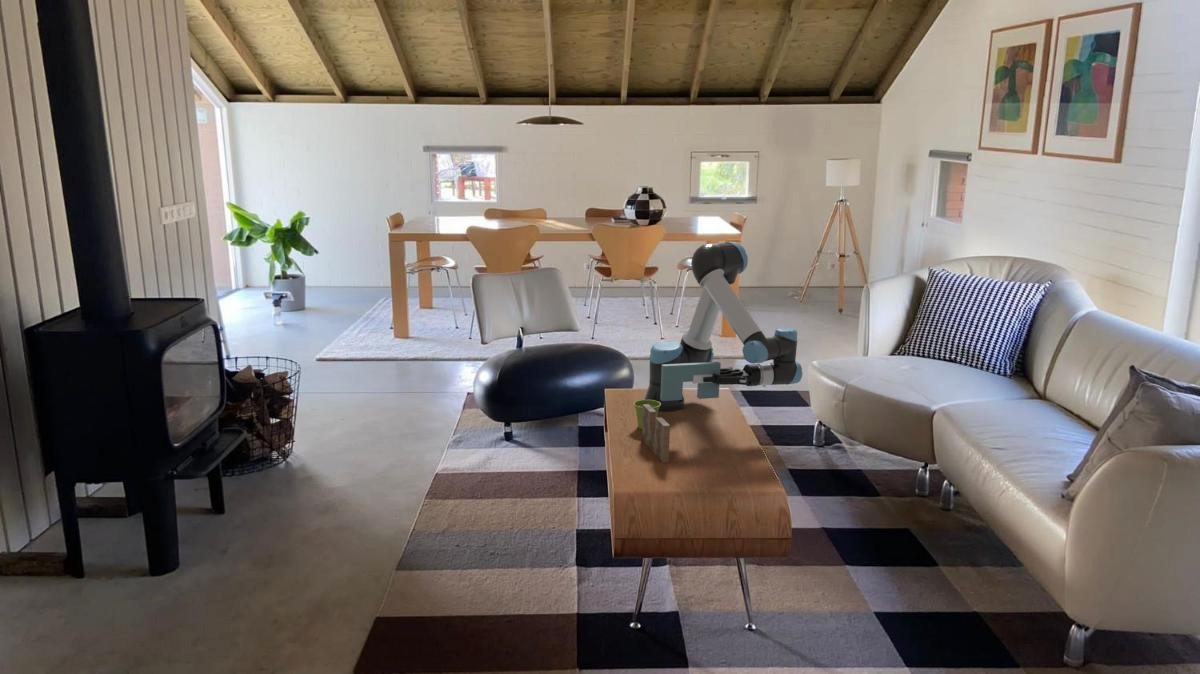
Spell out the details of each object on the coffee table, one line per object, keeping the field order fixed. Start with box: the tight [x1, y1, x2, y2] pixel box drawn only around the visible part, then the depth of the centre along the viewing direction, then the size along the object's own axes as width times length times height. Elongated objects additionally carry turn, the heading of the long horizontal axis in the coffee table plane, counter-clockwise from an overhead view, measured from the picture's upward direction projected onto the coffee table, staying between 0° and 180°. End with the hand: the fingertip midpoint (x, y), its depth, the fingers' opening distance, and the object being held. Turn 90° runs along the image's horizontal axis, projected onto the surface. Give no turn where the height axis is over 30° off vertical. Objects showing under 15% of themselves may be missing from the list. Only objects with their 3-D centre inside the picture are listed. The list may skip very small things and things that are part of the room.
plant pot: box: [633, 399, 661, 430], centre depth 291 cm, size 9×9×9 cm
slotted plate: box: [660, 361, 722, 401], centre depth 280 cm, size 2×20×12 cm, turn 104°
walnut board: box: [641, 404, 671, 463], centre depth 269 cm, size 22×2×12 cm, turn 14°
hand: (691, 378), depth 280 cm, fingers closed on slotted plate, 2 cm apart
